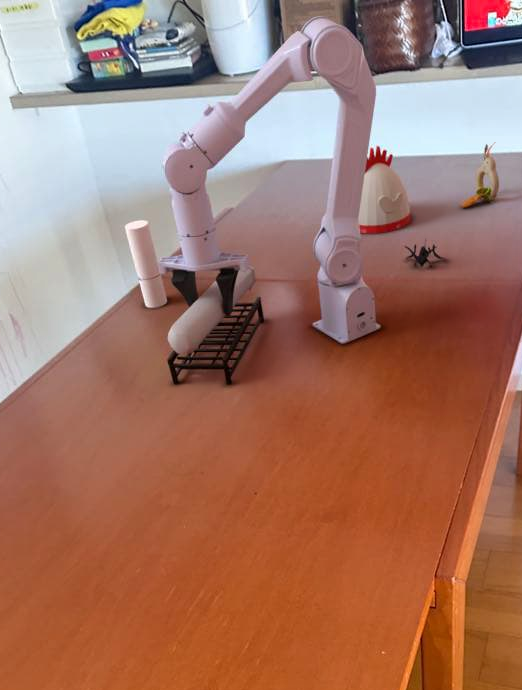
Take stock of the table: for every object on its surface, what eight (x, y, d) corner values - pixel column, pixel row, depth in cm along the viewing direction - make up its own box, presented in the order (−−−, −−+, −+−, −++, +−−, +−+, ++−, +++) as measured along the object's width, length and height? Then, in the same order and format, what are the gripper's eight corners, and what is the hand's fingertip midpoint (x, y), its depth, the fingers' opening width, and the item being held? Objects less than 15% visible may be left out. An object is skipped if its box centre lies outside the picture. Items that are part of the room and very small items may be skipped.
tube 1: (171, 298, 148) (152, 220, 138) (159, 308, 146) (139, 229, 136) (152, 297, 150) (133, 219, 140) (141, 306, 147) (120, 228, 137)
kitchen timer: (335, 221, 169) (329, 148, 159) (388, 205, 172) (386, 132, 162) (366, 238, 159) (362, 162, 149) (422, 221, 162) (422, 145, 153)
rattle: (453, 199, 170) (454, 143, 162) (489, 193, 170) (492, 137, 163) (463, 210, 164) (465, 153, 157) (500, 204, 165) (503, 146, 157)
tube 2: (194, 336, 114) (258, 266, 131) (162, 323, 115) (230, 255, 131) (191, 365, 118) (254, 293, 134) (160, 353, 119) (226, 283, 135)
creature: (409, 261, 150) (398, 269, 144) (409, 232, 148) (399, 239, 141) (448, 262, 148) (439, 270, 141) (450, 233, 145) (441, 240, 139)
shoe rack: (264, 320, 136) (261, 296, 133) (231, 385, 121) (226, 359, 118) (212, 321, 139) (207, 297, 136) (172, 384, 123) (166, 359, 120)
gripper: (248, 218, 117) (261, 301, 126) (161, 222, 121) (180, 303, 130) (236, 236, 112) (250, 321, 121) (145, 239, 116) (166, 322, 125)
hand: (213, 313), depth 125 cm, fingers closed on tube 2, 5 cm apart
